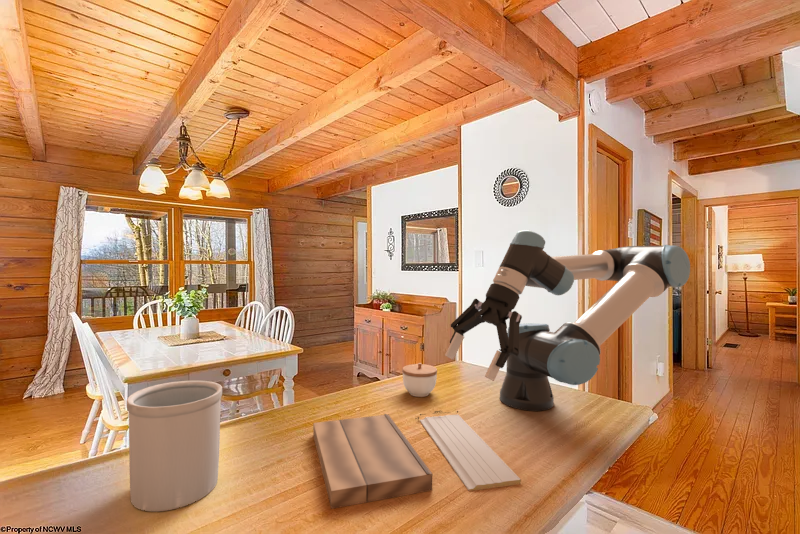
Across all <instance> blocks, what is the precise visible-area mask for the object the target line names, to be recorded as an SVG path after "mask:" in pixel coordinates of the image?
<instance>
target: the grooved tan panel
mask: <svg viewBox="0 0 800 534" xmlns="http://www.w3.org/2000/svg"><path fill="white" fill-rule="evenodd" d="M313 439H314V445H315V447H316V451H317V456H318V459H319V464H320V468H321V472H322V476H323V480H324V484H325V490H326V492H327V497H328V501H329V505H330V509H336V508H342V507H348V506H354V505H358V504H364V503H370V502H374V501H375V502H376V501H380V500H386V499H390V498H392V499H393V498H397V497H400V496H401V497H402V496H407V495H412V494H417V493H418V494H419V493H423V492H430V491H433V472H432V471H431V470H430V469H429V467H428V466H427V465H426V463H425V462H424V460H423V459H422V458H421V455H419V454H418V451H416V450H415V448H414V446H413V445H412V444H411V443H410V441H409V439H407V438H406V436H405V435H404V433H403V432H402V431H401V429H400V428H399V427H398V425H397V424H396V423H395V421H394V420H393V419H392V417H391V415H390V414H387V413H384V414H381V415H379V414H378V415H373V416H362V417H356V418H355V417H354V418H346V419H338V420H337V419H335V420H329V421H320V422H313Z"/></svg>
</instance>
